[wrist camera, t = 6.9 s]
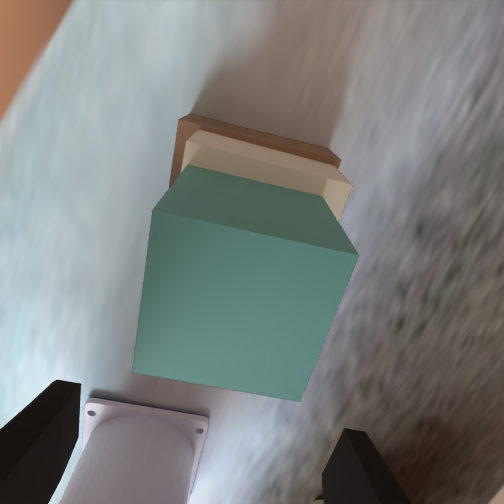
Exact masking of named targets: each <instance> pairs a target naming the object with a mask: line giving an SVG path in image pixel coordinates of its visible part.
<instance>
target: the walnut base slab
mask: <svg viewBox="0 0 504 504" xmlns="http://www.w3.org/2000/svg"><path fill="white" fill-rule="evenodd" d="M199 129H200V130H203V131H207V132H211V133H215V134H218V135H222V136H226V137H230V138H233V139H237V140H241V141H244V142H248V143H252V144H256V145H259V146H263V147H267V148H271V149H274V150H278V151H282V152H285V153H289V154H293V155H297V156H300V157H304V158H308V159H312V160H315V161H319V162H323V163H326V164H330V165H334V166H335V167H336V168H337V169H338V167H339V164H340V161H341V159H340V158H339V157H337V156H336V155H335V154H334V153H333V152H332V151H331V150H330V149H328V148H324V147H320V146H316V145H312V144H308V143H304V142H300V141H296V140H292V139H288V138H284V137H280V136H276V135H272V134H268V133H264V132H260V131H256V130H252V129H248V128H244V127H240V126H236V125H232V124H228V123H224V122H220V121H216V120H212V119H208V118H204V117H200V116H196V115H192V114H188V115H187V116H185V117H183V118H181V119H179V122H178V128H177V135H176V142H175V149H174V156H173V163H172V170H171V177H170V184H169V188H170V187H171V185H172V184H173V183H174V181H175V180H176V179H177V177H178V176H179V175H180V173H181V168H182V162H183V156H184V151H185V145H186V141H187V140H188V139H189V138H190V137H191V136H192V135H193V134H194V133H195V132H197V131H198V130H199Z"/></svg>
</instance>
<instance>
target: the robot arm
mask: <svg viewBox="0 0 504 504" xmlns="http://www.w3.org/2000/svg"><path fill="white" fill-rule="evenodd" d="M80 395H81V384H80V383H74V382H68V381H62V380H56V381H54V382H52V383H51V384H50V385H49V386H48V387H47V388H46V389H45V390H44V391H43V392H42V393H40V394H39V395H38V396H37V397H36V398H35V399H34V400H33V401H32V402H31V403H30V404H28V405H27V406H26V407H25V408H24V409H23V410H22V411H21V412H19V413H18V414H17V415H16V416H15V417H14V418H13V419H12V420H10V421H9V422H8V423H7V424H6V425H5V426H4V427H2V428H1V429H0V504H48V503H49V501H50V499H51V497H52V496H53V494H54V492H55V490H56V488H57V486H58V484H59V482H60V480H61V478H62V476H63V473H64V471H65V469H66V466H67V464H68V462H69V459H70V457H71V454H72V452H73V449H74V447H75V444H76V442H77V440H78V437H79V416H80ZM208 426H209V420H208V418H206V417H204V416H200V415H194V414H188V413H182V412H176V411H170V410H164V409H158V408H152V407H146V406H140V405H134V404H128V403H122V402H116V401H110V400H105V399H99V398H89V399H88V400H87V401H86V403H85V405H84V418H83V436H82V454H81V457H80V459H79V461H78V463H77V465H76V467H75V470H74V472H73V474H72V476H71V478H70V481H69V483H68V485H67V487H66V489H65V491H64V494H63V496H62V498H61V500H60V502H59V504H188V502H189V498H190V494H191V491H192V487H193V483H194V479H195V475H196V472H197V468H198V464H199V460H200V457H201V453H202V449H203V445H204V442H205V438H206V434H207V430H208ZM199 428H201V429H199ZM322 486H323V500H324V504H412V503H411V502H410V500H409V499H408V497H407V496H406V494H405V493H404V491H403V490H402V488H401V487H400V485H399V483H398V482H397V480H396V479H395V477H394V476H393V474H392V473H391V471H390V470H389V468H388V466H387V465H386V463H385V462H384V460H383V459H382V457H381V455H380V454H379V452H378V451H377V449H376V448H375V446H374V445H373V443H372V441H371V440H370V438H369V437H368V435H367V434H366V432H364V431H358V430H352V429H346V428H344V430H343V432H342V434H341V436H340V438H339V440H338V443H337V445H336V447H335V449H334V451H333V453H332V455H331V457H330V459H329V461H328V463H327V465H326V467H325V469H324V471H323V473H322Z"/></svg>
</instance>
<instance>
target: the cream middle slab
mask: <svg viewBox="0 0 504 504" xmlns="http://www.w3.org/2000/svg"><path fill="white" fill-rule="evenodd" d="M187 164H188V165H192V166H196V167H201V168H205V169H209V170H213V171H218V172H222V173H226V174H230V175H235V176H239V177H243V178H247V179H252V180H256V181H260V182H264V183H269V184H273V185H277V186H281V187H286V188H290V189H294V190H298V191H303V192H307V193H311V194H315V195H320V196H323V198H324V199H325V201H326V203H327V204H328V206H329V207H330V209H331V211H332V212H333V214H334V216H335V217H336V219H337V220H338V222H339V220H340V218H341V215H342V212H343V210H344V207H345V205H346V202H347V199H348V197H349V194H350V192H351V189H352V186H353V184H352V183H351V182H350V181H349V180H348V179H347V178H346V177H345V176H344V175H343V174H342V173H341V172H340V171H339V170H338V169H337V168H336V167H335V166H334V165H330V164H326V163H323V162H319V161H315V160H312V159H308V158H304V157H300V156H297V155H293V154H289V153H285V152H282V151H278V150H274V149H271V148H267V147H263V146H259V145H256V144H252V143H248V142H244V141H241V140H237V139H233V138H230V137H226V136H222V135H218V134H215V133H211V132H207V131H203V130H200V129H199V130H198V131H197V132H195V133H194V134H193V135H192V136H191V137H190V138H189V139H188V140H187V141H186V145H185V151H184V156H183V162H182V168H181V172H182V171H183V170H184V168H185V167H186V166H187ZM180 174H181V173H180Z"/></svg>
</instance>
